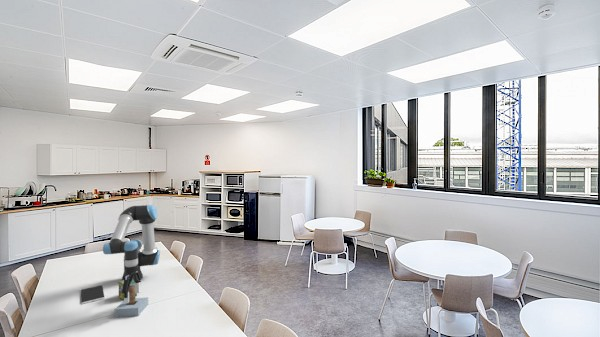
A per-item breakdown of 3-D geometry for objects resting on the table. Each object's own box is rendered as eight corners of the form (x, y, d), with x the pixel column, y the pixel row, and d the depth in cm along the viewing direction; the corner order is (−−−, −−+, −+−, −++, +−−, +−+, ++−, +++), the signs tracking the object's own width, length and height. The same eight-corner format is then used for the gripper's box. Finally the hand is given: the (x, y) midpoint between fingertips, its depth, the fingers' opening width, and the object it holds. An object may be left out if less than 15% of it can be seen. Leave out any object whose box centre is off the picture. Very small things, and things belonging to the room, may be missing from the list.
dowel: (130, 309, 186) (130, 285, 186) (136, 309, 186) (136, 285, 186) (127, 312, 182) (127, 287, 182) (133, 311, 183) (133, 287, 183)
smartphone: (81, 305, 193) (81, 303, 193) (80, 291, 214) (80, 289, 214) (104, 299, 201) (104, 297, 201) (102, 286, 222) (102, 284, 222)
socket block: (126, 305, 191) (126, 298, 191) (148, 304, 192) (148, 297, 192) (115, 317, 177) (114, 309, 177) (138, 315, 178) (138, 307, 178)
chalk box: (118, 297, 203) (117, 277, 203) (132, 292, 210) (131, 273, 210) (123, 301, 198) (122, 280, 197) (137, 296, 205) (137, 276, 205)
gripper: (134, 259, 196) (135, 289, 196) (114, 272, 171) (115, 307, 171) (146, 258, 197) (146, 288, 197) (127, 272, 172) (128, 306, 172)
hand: (132, 297), depth 184 cm, fingers open, 13 cm apart
